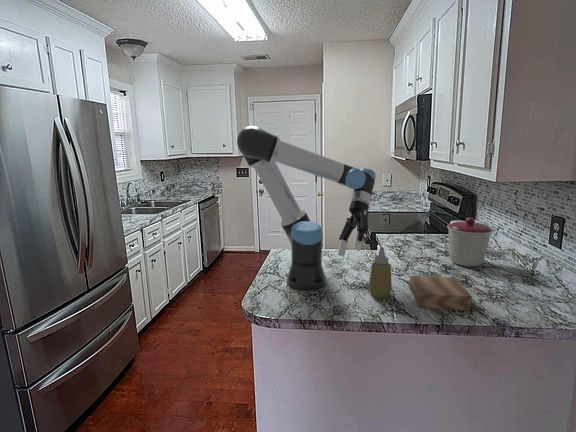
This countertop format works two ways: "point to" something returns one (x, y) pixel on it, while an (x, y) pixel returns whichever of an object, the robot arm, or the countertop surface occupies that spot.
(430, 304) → the walnut plinth
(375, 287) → the squeeze bottle
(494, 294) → the countertop surface
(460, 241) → the canister
